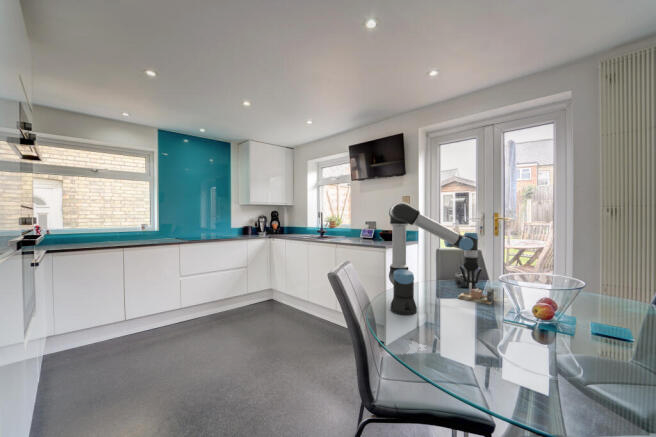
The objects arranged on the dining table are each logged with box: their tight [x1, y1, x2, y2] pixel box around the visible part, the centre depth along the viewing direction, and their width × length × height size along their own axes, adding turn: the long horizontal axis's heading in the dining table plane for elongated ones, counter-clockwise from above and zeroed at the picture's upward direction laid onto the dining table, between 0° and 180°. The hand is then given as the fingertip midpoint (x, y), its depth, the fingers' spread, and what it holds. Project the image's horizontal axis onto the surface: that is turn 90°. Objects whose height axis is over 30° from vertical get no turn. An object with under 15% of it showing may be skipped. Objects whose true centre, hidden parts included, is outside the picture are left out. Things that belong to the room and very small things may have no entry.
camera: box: [454, 271, 477, 289], centre depth 195 cm, size 16×10×10 cm, turn 23°
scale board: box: [457, 287, 495, 305], centre depth 166 cm, size 18×11×7 cm, turn 50°
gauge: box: [471, 288, 483, 299], centre depth 165 cm, size 5×7×5 cm
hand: (470, 293), depth 167 cm, fingers closed
